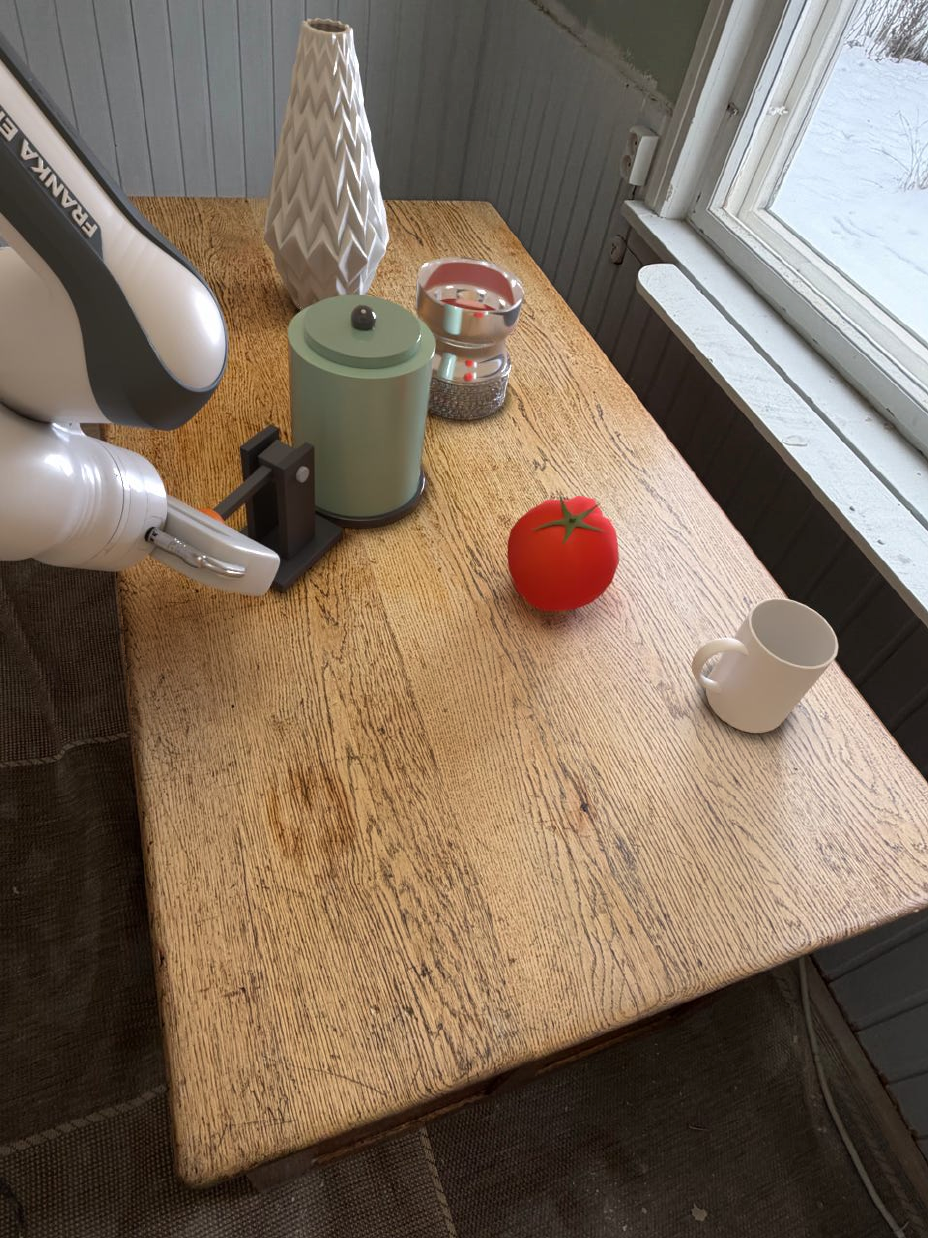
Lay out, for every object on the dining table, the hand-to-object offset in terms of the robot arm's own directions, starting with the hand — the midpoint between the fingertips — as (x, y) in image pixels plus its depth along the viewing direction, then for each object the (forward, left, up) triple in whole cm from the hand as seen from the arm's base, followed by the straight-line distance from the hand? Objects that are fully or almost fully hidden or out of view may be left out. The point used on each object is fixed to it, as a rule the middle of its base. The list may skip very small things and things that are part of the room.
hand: (211, 530), depth 67 cm
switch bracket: (+5, +8, -9) cm, 13 cm away
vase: (+4, +57, -9) cm, 58 cm away
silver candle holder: (+22, +42, -9) cm, 48 cm away
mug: (+49, -7, -9) cm, 50 cm away
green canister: (+11, +19, -9) cm, 24 cm away
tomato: (+33, +6, -9) cm, 34 cm away
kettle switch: (+2, +3, 0) cm, 4 cm away
